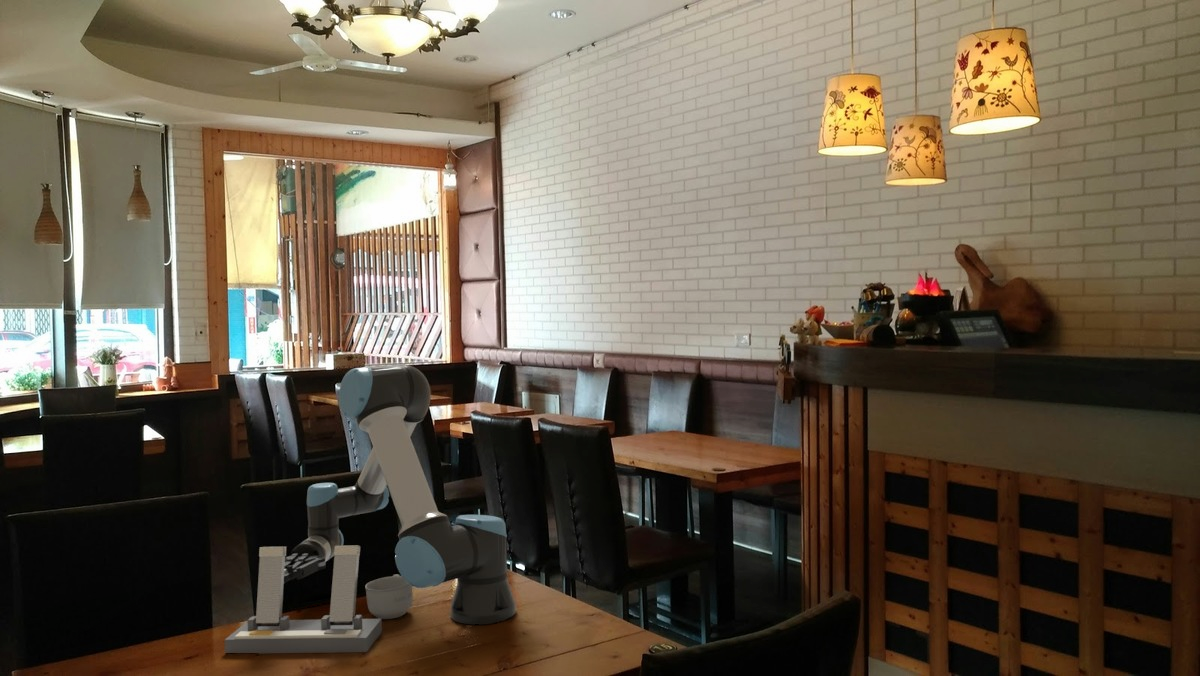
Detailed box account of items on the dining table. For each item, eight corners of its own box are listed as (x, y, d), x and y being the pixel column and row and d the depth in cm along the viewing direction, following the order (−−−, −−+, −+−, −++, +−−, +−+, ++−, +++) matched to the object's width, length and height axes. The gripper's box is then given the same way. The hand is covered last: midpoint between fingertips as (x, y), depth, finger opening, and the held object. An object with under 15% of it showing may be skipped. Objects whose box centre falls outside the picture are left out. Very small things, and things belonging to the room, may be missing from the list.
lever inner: (354, 625, 194) (360, 546, 199) (351, 625, 191) (357, 545, 197) (331, 625, 194) (338, 546, 199) (328, 625, 191) (334, 545, 197)
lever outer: (281, 625, 194) (286, 546, 198) (277, 626, 192) (282, 546, 195) (259, 625, 194) (264, 546, 198) (254, 627, 192) (259, 547, 195)
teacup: (401, 624, 204) (400, 589, 204) (357, 621, 206) (356, 587, 206) (425, 604, 217) (424, 572, 217) (384, 602, 220) (383, 570, 219)
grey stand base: (381, 631, 199) (381, 607, 198) (366, 652, 187) (365, 626, 187) (248, 633, 199) (248, 609, 199) (225, 653, 187) (224, 628, 187)
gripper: (337, 569, 220) (301, 600, 196) (284, 570, 220) (243, 600, 196) (336, 539, 219) (300, 566, 196) (283, 540, 220) (242, 566, 196)
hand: (272, 583), depth 196 cm, fingers closed
